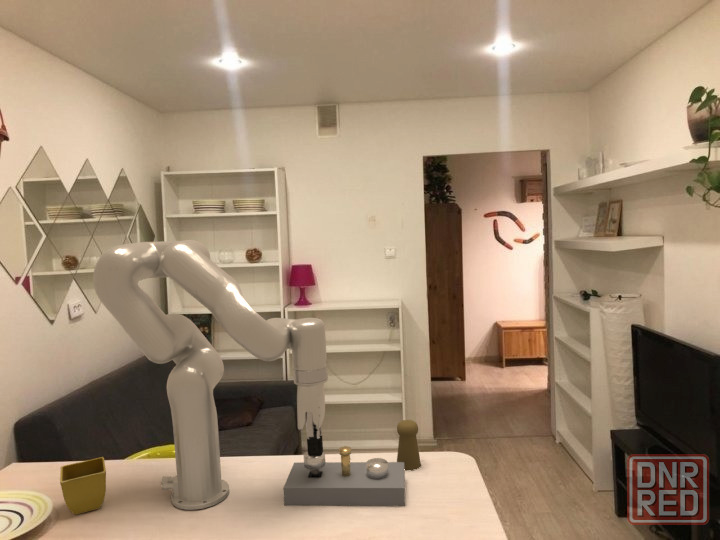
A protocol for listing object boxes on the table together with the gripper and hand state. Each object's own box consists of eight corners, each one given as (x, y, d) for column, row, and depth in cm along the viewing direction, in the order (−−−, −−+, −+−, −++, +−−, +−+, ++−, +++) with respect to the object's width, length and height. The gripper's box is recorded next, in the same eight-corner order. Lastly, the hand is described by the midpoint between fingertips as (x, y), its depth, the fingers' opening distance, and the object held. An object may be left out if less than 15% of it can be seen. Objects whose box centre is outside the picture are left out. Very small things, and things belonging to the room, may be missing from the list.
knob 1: (303, 486, 121) (301, 459, 120) (306, 475, 126) (305, 449, 125) (324, 486, 121) (323, 458, 120) (327, 475, 125) (326, 449, 125)
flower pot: (63, 522, 115) (59, 482, 114) (64, 504, 122) (60, 465, 121) (109, 511, 119) (106, 471, 118) (107, 493, 126) (104, 456, 125)
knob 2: (366, 495, 120) (365, 467, 119) (367, 484, 125) (366, 458, 124) (388, 495, 120) (387, 467, 119) (388, 484, 124) (388, 458, 124)
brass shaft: (339, 477, 121) (338, 451, 121) (341, 471, 124) (339, 446, 123) (351, 477, 121) (350, 451, 120) (352, 471, 124) (351, 446, 123)
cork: (419, 471, 131) (418, 427, 130) (394, 469, 132) (393, 426, 131) (422, 460, 137) (420, 417, 136) (398, 458, 138) (396, 416, 137)
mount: (284, 505, 118) (283, 487, 118) (295, 478, 130) (294, 462, 129) (405, 505, 116) (404, 488, 116) (404, 478, 128) (404, 462, 127)
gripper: (300, 365, 128) (304, 440, 130) (286, 385, 114) (292, 470, 115) (331, 364, 128) (336, 440, 130) (322, 384, 113) (327, 469, 115)
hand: (315, 453), depth 123 cm, fingers closed
